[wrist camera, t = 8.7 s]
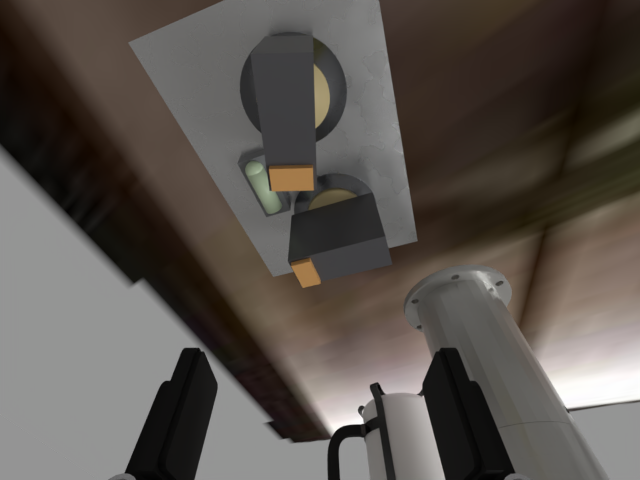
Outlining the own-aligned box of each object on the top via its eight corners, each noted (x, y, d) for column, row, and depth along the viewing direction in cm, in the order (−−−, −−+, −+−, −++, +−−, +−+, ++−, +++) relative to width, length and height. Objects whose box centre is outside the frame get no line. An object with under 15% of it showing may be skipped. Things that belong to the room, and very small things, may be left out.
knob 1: (329, 33, 19) (336, 53, 13) (329, 145, 23) (334, 192, 18) (249, 34, 19) (225, 55, 13) (264, 146, 23) (251, 195, 18)
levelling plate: (412, 228, 31) (417, 241, 30) (275, 263, 34) (273, 277, 32) (363, -60, 18) (368, -64, 16) (141, 37, 20) (127, 42, 19)
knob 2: (379, 222, 28) (395, 277, 23) (306, 241, 29) (305, 298, 24) (368, 176, 25) (383, 228, 20) (287, 200, 26) (281, 255, 21)
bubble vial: (291, 203, 27) (289, 217, 25) (267, 210, 27) (264, 224, 25) (265, 149, 23) (262, 160, 22) (239, 157, 24) (234, 169, 22)
